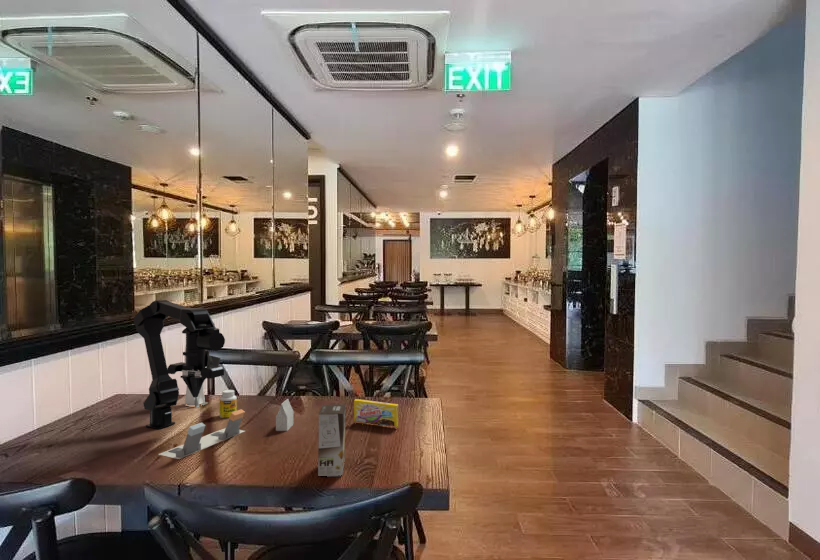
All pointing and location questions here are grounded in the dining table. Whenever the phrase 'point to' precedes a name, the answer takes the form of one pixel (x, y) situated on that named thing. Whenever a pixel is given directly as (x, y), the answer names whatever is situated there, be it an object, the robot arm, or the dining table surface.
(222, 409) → the supplement bottle
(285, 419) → the grey house block
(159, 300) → the robot arm
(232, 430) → the lever
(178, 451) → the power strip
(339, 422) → the coffee box
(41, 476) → the dining table surface
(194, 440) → the lever
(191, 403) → the skyscraper
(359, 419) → the candy box
